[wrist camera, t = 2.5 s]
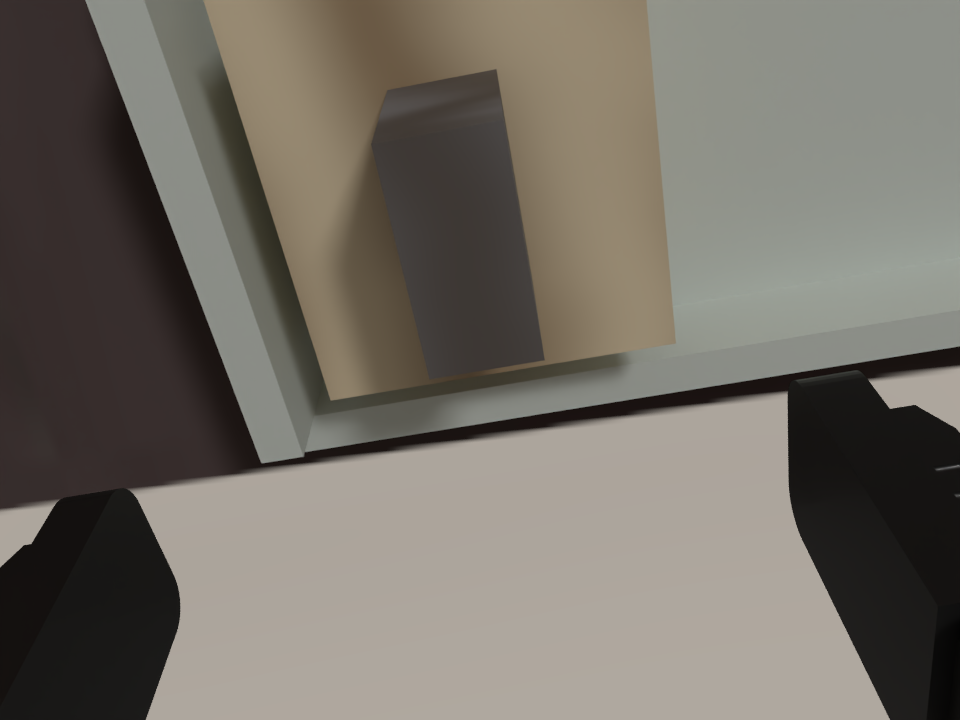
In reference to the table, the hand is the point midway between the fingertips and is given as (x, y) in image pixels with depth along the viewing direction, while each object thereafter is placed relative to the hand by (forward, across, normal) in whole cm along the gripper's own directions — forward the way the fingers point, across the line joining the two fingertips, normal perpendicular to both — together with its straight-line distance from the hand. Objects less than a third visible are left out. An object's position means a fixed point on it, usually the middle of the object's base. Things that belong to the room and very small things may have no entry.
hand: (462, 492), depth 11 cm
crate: (+16, 0, 0) cm, 16 cm away
